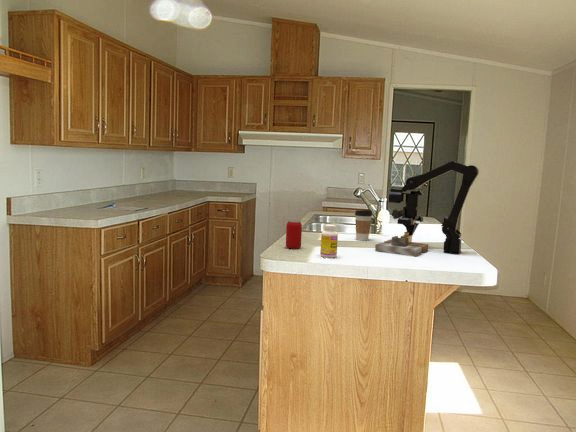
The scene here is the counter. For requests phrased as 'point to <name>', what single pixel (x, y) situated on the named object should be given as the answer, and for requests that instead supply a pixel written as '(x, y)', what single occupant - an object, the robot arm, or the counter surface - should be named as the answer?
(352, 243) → the counter surface
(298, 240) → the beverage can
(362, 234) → the coffee cup
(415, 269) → the counter surface
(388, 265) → the counter surface
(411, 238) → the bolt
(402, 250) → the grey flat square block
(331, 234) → the supplement bottle
